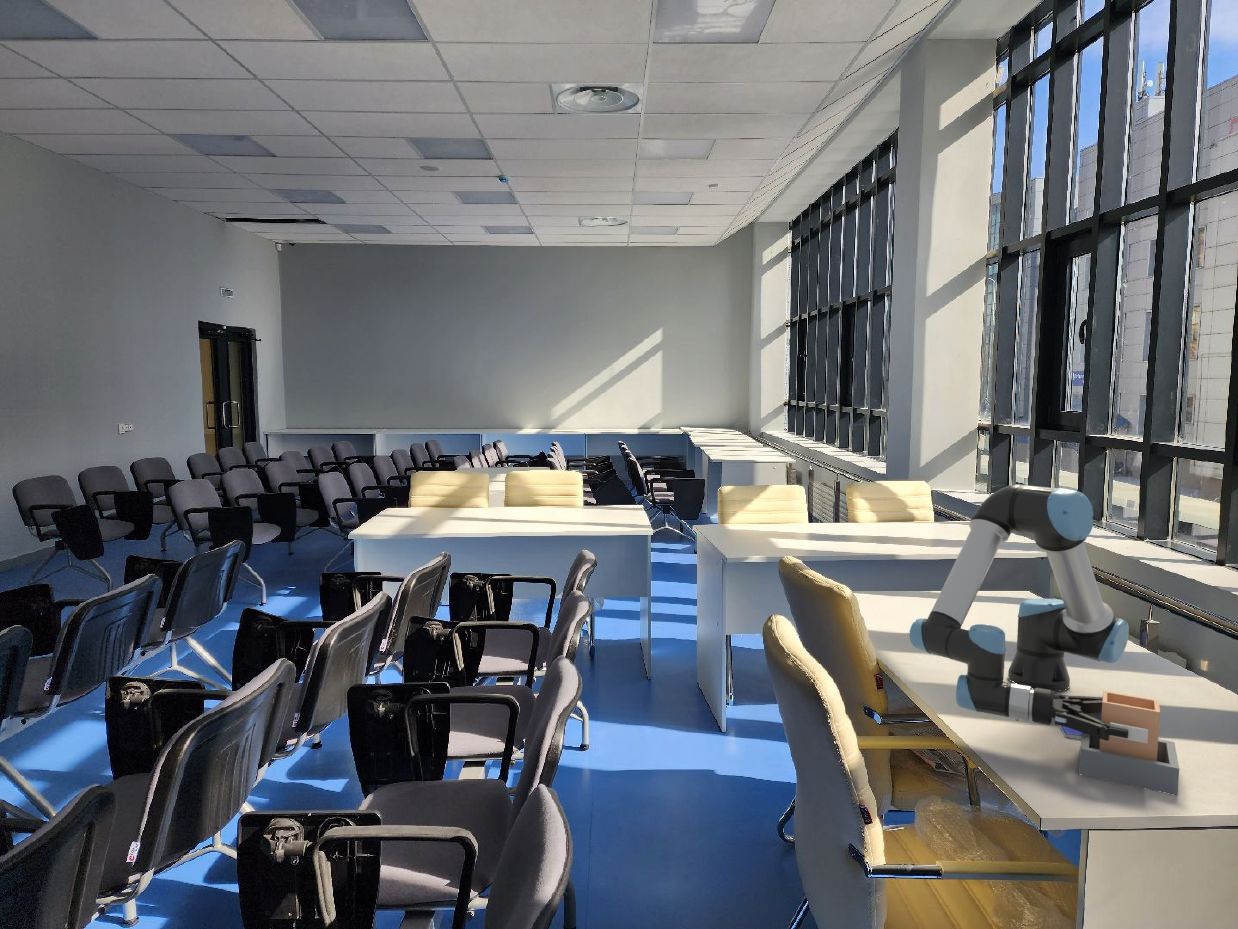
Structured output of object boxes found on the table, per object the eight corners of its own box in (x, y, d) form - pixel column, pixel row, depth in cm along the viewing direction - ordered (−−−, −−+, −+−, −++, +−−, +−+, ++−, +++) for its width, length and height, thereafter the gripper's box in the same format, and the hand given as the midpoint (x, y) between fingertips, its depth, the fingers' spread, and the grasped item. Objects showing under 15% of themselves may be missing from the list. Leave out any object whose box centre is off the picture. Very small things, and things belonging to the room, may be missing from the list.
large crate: (1081, 748, 183) (1082, 724, 182) (1172, 767, 174) (1174, 742, 174) (1078, 774, 170) (1080, 748, 169) (1177, 795, 161) (1179, 768, 161)
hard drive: (1106, 738, 186) (1092, 718, 198) (1065, 733, 189) (1055, 713, 201) (1105, 744, 186) (1092, 724, 198) (1065, 739, 189) (1054, 720, 201)
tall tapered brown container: (1098, 753, 178) (1103, 690, 177) (1153, 764, 173) (1158, 700, 172) (1098, 767, 171) (1102, 702, 170) (1155, 779, 166) (1160, 712, 165)
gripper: (1035, 703, 191) (1143, 722, 181) (1026, 740, 170) (1147, 765, 159) (1037, 672, 191) (1145, 689, 180) (1028, 705, 169) (1150, 727, 159)
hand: (1146, 725), depth 170 cm, fingers open, 13 cm apart
